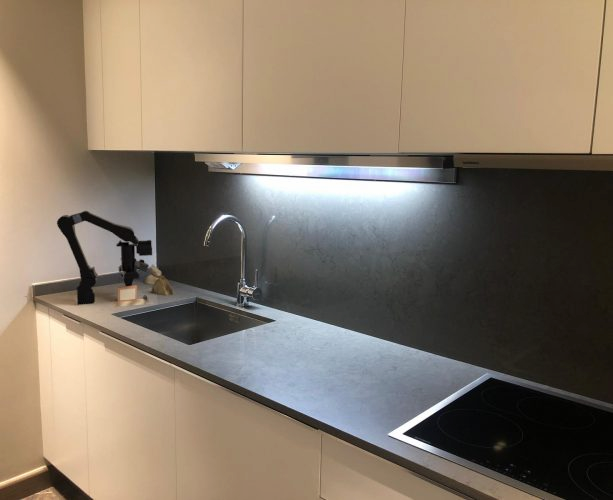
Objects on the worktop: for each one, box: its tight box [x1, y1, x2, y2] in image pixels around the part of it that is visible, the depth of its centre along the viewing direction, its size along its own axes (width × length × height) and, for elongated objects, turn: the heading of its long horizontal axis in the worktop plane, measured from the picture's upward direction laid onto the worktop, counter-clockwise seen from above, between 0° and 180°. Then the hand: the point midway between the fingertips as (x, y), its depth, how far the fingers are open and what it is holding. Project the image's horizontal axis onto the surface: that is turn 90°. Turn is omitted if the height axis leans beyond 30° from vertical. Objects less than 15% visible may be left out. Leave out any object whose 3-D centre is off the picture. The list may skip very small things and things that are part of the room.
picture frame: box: [117, 285, 138, 302], centre depth 242 cm, size 8×2×7 cm, turn 115°
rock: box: [151, 275, 175, 296], centre depth 258 cm, size 11×9×10 cm
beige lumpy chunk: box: [144, 264, 163, 285], centre depth 279 cm, size 6×8×10 cm
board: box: [111, 297, 153, 308], centre depth 241 cm, size 16×10×1 cm, turn 115°
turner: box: [143, 294, 153, 305], centre depth 244 cm, size 3×11×1 cm, turn 25°
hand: (129, 290), depth 244 cm, fingers closed
